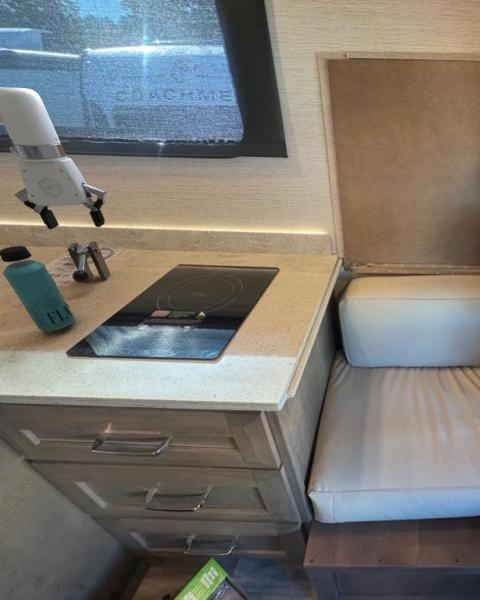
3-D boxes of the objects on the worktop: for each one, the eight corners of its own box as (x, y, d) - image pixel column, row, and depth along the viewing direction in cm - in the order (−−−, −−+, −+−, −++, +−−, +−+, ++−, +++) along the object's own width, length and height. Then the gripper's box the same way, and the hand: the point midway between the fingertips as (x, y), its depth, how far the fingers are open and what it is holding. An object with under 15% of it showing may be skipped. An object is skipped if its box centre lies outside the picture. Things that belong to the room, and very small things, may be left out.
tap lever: (91, 283, 87) (84, 276, 84) (75, 285, 85) (68, 278, 83) (95, 250, 92) (89, 242, 90) (81, 252, 91) (74, 243, 89)
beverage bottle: (57, 339, 73) (6, 256, 63) (32, 335, 74) (-22, 252, 64) (86, 323, 79) (43, 244, 69) (62, 319, 80) (16, 241, 69)
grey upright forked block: (118, 286, 94) (101, 247, 88) (73, 291, 90) (52, 252, 84) (124, 275, 100) (108, 238, 94) (82, 280, 96) (62, 242, 90)
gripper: (-20, 154, 69) (24, 233, 78) (80, 155, 73) (111, 229, 82) (5, 150, 75) (44, 223, 84) (96, 150, 79) (124, 220, 88)
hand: (77, 226), depth 83 cm, fingers open, 9 cm apart
